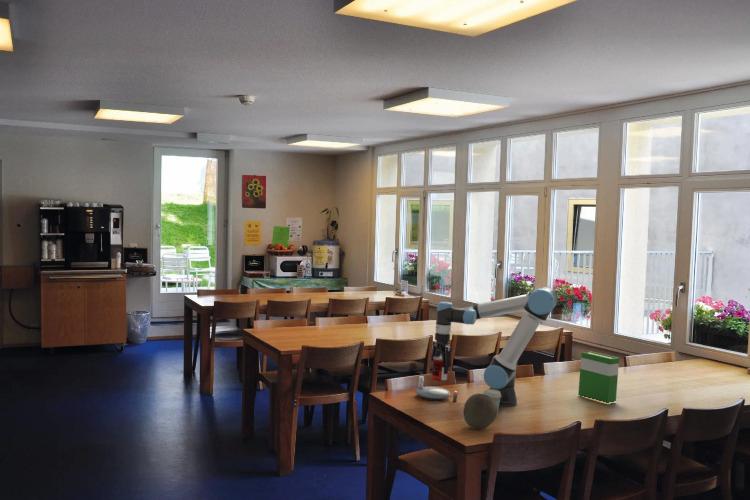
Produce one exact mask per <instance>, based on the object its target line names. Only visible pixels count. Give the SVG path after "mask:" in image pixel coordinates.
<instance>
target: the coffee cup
mask: <svg viewBox="0 0 750 500" xmlns="http://www.w3.org/2000/svg"><path fill="white" fill-rule="evenodd" d="M482 394H484V395H488V396H490V397H491V398H492V399H493V400H494V401H495V403H496V405H497V415H496V418H495V419H497V418H498V414H499V413H498V412H499V407H500V406H499V403H500V397H501V393H500V391H498V390H493V389H490V388H487V389H484V390H483V392H482Z"/></svg>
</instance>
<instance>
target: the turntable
mask: <svg viewBox="0 0 750 500" xmlns="http://www.w3.org/2000/svg"><path fill="white" fill-rule="evenodd" d="M424 380H425V376H422V375H419V377H418V387H417V388H416V389H415V391H416V392H415V394H416V395H418V396H419V397H422V398H423V397H426V398H433V399H442V400H444V399H447V398H451V397H452V394H451V392H450V391H451V390H448V389H446V388H443V387H438V386H424V382H425V381H424Z"/></svg>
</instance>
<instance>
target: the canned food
mask: <svg viewBox="0 0 750 500" xmlns="http://www.w3.org/2000/svg"><path fill="white" fill-rule="evenodd" d="M442 366H443V359H442V355H440V356H434V357H433V361H432V371H431V372H432V374H431V378H432V380H433V381H439V382H445V381H447V380H441V377H442ZM448 373H449V371H448V372H447V377H448V376H449V375H448Z"/></svg>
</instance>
